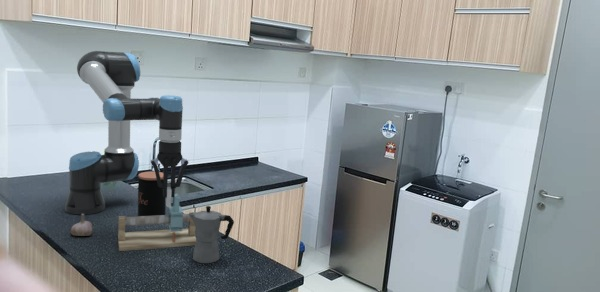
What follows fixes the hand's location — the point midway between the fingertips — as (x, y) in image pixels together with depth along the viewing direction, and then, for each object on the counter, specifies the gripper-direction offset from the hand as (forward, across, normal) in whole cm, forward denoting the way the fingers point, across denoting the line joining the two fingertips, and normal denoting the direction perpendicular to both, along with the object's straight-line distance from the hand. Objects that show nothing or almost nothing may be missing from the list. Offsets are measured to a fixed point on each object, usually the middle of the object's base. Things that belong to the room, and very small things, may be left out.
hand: (168, 205), depth 167 cm
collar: (+8, +3, 0) cm, 9 cm away
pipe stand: (+13, -4, 0) cm, 13 cm away
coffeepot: (+13, +12, -18) cm, 25 cm away
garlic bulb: (+13, -28, +11) cm, 33 cm away
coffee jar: (+13, -4, +25) cm, 29 cm away
